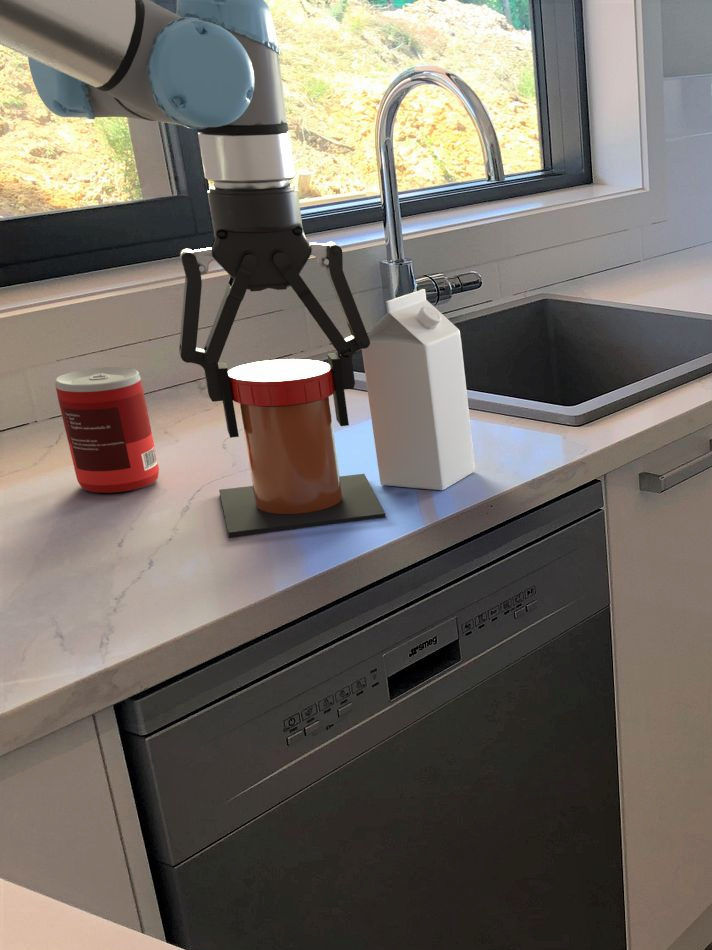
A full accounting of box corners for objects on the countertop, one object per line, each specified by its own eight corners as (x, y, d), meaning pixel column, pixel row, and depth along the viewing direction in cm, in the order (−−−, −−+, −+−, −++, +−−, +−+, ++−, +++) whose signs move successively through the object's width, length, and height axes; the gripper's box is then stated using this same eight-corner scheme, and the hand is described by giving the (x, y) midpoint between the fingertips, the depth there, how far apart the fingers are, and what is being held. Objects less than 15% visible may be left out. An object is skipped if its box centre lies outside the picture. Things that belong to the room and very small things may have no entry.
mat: (228, 537, 128) (227, 532, 128) (219, 494, 140) (219, 489, 139) (386, 518, 134) (385, 513, 134) (365, 478, 145) (364, 473, 145)
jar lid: (235, 410, 126) (231, 385, 125) (226, 387, 134) (222, 363, 133) (342, 400, 130) (338, 376, 129) (327, 378, 138) (324, 355, 137)
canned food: (148, 466, 148) (127, 363, 143) (171, 484, 142) (149, 377, 138) (69, 479, 143) (44, 374, 139) (89, 498, 138) (64, 389, 133)
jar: (259, 518, 132) (238, 388, 127) (252, 494, 138) (232, 369, 133) (347, 508, 135) (330, 380, 130) (337, 485, 141) (320, 362, 136)
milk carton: (380, 486, 143) (354, 299, 135) (415, 467, 149) (392, 287, 141) (442, 492, 141) (420, 303, 134) (476, 472, 148) (456, 290, 140)
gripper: (371, 175, 132) (398, 407, 141) (114, 183, 123) (161, 430, 132) (385, 183, 126) (413, 425, 135) (116, 192, 117) (165, 451, 126)
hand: (288, 427), depth 134 cm, fingers closed on jar lid, 9 cm apart
